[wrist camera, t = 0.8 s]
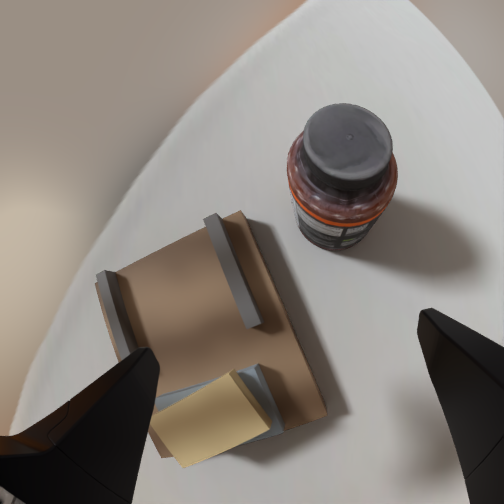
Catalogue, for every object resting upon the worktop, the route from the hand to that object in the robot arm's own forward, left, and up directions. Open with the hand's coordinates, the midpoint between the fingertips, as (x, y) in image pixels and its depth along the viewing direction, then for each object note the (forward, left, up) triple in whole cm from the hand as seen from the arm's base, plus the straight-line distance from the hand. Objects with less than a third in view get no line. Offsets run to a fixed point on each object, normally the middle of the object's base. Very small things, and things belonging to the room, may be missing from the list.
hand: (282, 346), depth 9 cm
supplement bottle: (+5, -7, -13) cm, 16 cm away
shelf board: (+2, +7, -13) cm, 15 cm away
